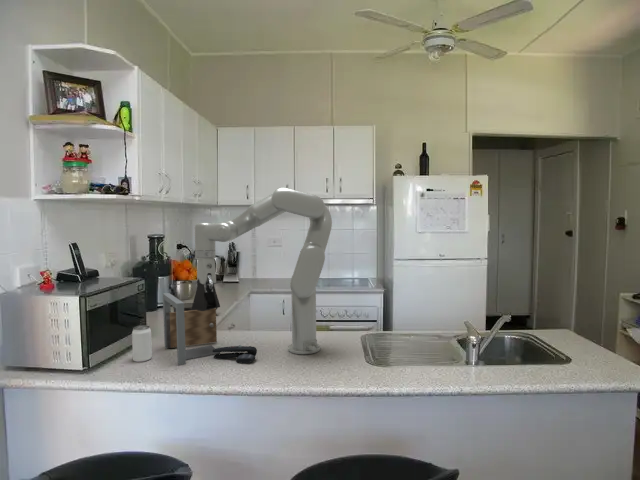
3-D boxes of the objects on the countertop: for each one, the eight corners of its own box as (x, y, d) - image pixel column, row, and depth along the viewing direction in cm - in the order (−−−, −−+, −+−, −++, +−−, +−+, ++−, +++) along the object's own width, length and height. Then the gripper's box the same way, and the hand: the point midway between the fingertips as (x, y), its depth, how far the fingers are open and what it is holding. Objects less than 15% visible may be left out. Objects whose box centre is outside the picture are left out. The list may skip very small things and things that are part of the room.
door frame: (185, 363, 143) (183, 302, 142) (179, 365, 142) (177, 303, 141) (170, 346, 164) (168, 292, 163) (164, 347, 163) (162, 293, 162)
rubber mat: (220, 353, 154) (220, 352, 154) (185, 360, 147) (185, 359, 147) (211, 346, 163) (211, 345, 163) (178, 352, 156) (178, 351, 156)
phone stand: (202, 311, 150) (201, 279, 149) (191, 309, 153) (191, 278, 152) (220, 307, 157) (219, 276, 157) (209, 305, 161) (209, 275, 160)
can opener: (260, 358, 148) (260, 343, 148) (252, 365, 141) (251, 349, 141) (218, 354, 153) (218, 340, 153) (208, 360, 147) (207, 345, 146)
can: (155, 357, 151) (154, 325, 150) (143, 363, 145) (141, 330, 144) (142, 355, 153) (141, 324, 152) (129, 361, 147) (127, 329, 146)
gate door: (167, 349, 158) (166, 314, 157) (167, 347, 161) (166, 312, 160) (217, 343, 166) (216, 309, 165) (216, 341, 168) (215, 308, 168)
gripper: (222, 256, 149) (222, 304, 150) (208, 252, 163) (209, 296, 164) (201, 256, 145) (202, 306, 146) (189, 253, 160) (190, 298, 160)
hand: (205, 300), depth 155 cm, fingers closed on phone stand, 6 cm apart
